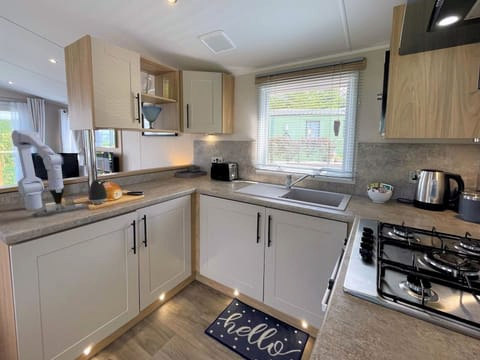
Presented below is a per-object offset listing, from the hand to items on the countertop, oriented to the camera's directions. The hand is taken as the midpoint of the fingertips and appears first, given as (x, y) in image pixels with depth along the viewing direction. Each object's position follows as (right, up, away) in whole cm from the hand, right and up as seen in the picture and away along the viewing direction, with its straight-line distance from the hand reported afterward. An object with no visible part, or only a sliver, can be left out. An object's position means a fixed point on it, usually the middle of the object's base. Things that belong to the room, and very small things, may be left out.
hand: (58, 203), depth 121 cm
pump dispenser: (+6, -3, +25) cm, 26 cm away
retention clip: (+1, 0, +2) cm, 3 cm away
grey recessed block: (-2, -6, +6) cm, 8 cm away
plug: (-5, -5, +2) cm, 8 cm away
